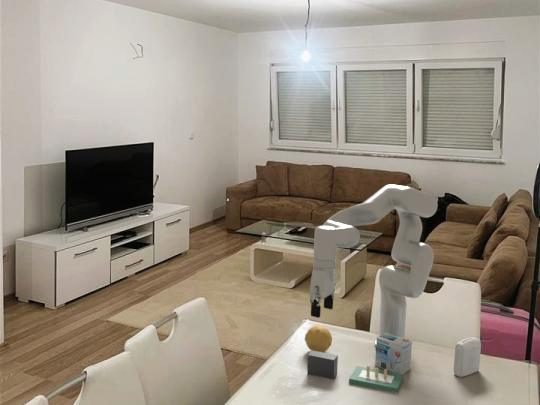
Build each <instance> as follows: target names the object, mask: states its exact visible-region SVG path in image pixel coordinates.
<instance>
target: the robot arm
mask: <svg viewBox="0 0 540 405" xmlns="http://www.w3.org/2000/svg"><path fill="white" fill-rule="evenodd" d="M438 206H439V204H438V201H437V199H436V197H435V196H434V195H433V194H430V193H428V192H425V191H422V190H419V189H416V188H413V187H410V186H405V185H399V184H394V183H393V184H386V185H383V187H381V188H380V189H379V190H377V191H376V192H375V193H373V194H372V195H371V196H370V197H368V198H367V199H366V200H365V201H363V202H362V203H358V204H355V205H353V206H349V207H347V208H345V209H342V210H340V211H337V212H336V213H334V214H333V215H332V216H330V217H329V218H328V219H327V220H326V221H324V223H323V224H322V225H318V226H316V227H315V228H314V234H313V235H314V237H313V238H314V239H313V257H312V258H313V259H312V260H313V261H312V272H311V278H310V286H309V298H310V300H309V301H310V302H309V303H310V316H311V317H314V318H321V310H322V309H321V308H322V307H321V302H322V300H323V308H324V309H328V310H333V309H334V297H335V294H334V293H335V289H336V288H335V287H336V281H335V280H336V276H335V275H336V274H335V273H336V272H335V270H336V267H337V266H336V265H337V248H345V249H346V248H353V247H355V246H357V244H358V243H359V242H360V239H361V233H360V231H359V230H358V229H357V226H369V225H374V224H377V223H379V222H380V221H381V220H382V219H383V218H385V217H386V216H387V215H389V213H391V212H392V211H393V210H396V212H397V214H398V218H399V227H398V229H397V234H396V236H395V239H394V242H393V246H392V249H391V253H390V254H391V259H392V260H393V261H394V262H396V263H398V264H402V265H405V266H407V267H410V269H407V268H404V267H400V266H399V265H386V266H384V267H382V269H381V270H380V271H379V275H378V284H379V289H380V311H379V312H380V313H379V333H378V337H379V336H381V335H383V334H384V333H389V334H393V335H396V336H399V337H402V338H405V339H406V325H407V324H406V321H407V305H408V304H407V299H406V297H407V298H410V299H417V298H419V297H420V296H421V295H422V294H423V293H424V291H425V289H426V287H427V281H428V279H429V276H430V272H431V270H432V267H433V263H434V258H435V256H434V255H435V254H434V250H433V248H432V246H430V245H429V244H427V243H425V242H421V241H420V240H421V237H422V232H423V223H422V220H421V218H430V217H432V216H434V215H435V214H436V212H437V210H438ZM420 217H421V218H420ZM374 346H375V348H376V340H375V341H374Z"/></svg>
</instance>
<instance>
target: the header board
mask: <svg viewBox="0 0 540 405" xmlns="http://www.w3.org/2000/svg"><path fill="white" fill-rule="evenodd" d="M403 381H404V374H402V375H401V374H396V373H393V372H390V371H388V370H386V369H383V370H380V369H379V367H375V368H371V367H370V365H367V366H366V367H364V366H359V365H356V367H355V368H354V370H353V372H352V374H351V375H350V376H349V378H348V383H349V384H353V385H358V386H364V387H368V388H372V389H376V390H377V389H378V390H382V391H388V392H392V393H396V394H397V393H398V392H399V390H400V389H401V386H402V383H403Z"/></svg>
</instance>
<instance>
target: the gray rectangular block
mask: <svg viewBox="0 0 540 405" xmlns="http://www.w3.org/2000/svg"><path fill="white" fill-rule="evenodd" d="M338 358H339V356H338V355H337V354H334V353H329V352H318V351H313V350H310V352H309V353H308V354H307V366H306V367H307V370H306V371H307V373H306V374H307V375H311V376H315V377H319V378H325V379H329V380H335V378H336V377H337V375H338V362H339V361H338V360H339V359H338Z"/></svg>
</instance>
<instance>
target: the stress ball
mask: <svg viewBox="0 0 540 405" xmlns="http://www.w3.org/2000/svg"><path fill="white" fill-rule="evenodd" d="M304 341H305V344H306V346H307V348H308V349H309V350H310V351H311V350H313V351H318V352H323V353H326V352H327V351H328V350H329V349H330V348H331V346H332V342H333V336H332V334H331V331H330V330H329V329H328V328H326V327H325V326H323V325H314V326H312V327H310V328H309V329H308V330H307V332H306V333H305V336H304Z"/></svg>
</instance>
